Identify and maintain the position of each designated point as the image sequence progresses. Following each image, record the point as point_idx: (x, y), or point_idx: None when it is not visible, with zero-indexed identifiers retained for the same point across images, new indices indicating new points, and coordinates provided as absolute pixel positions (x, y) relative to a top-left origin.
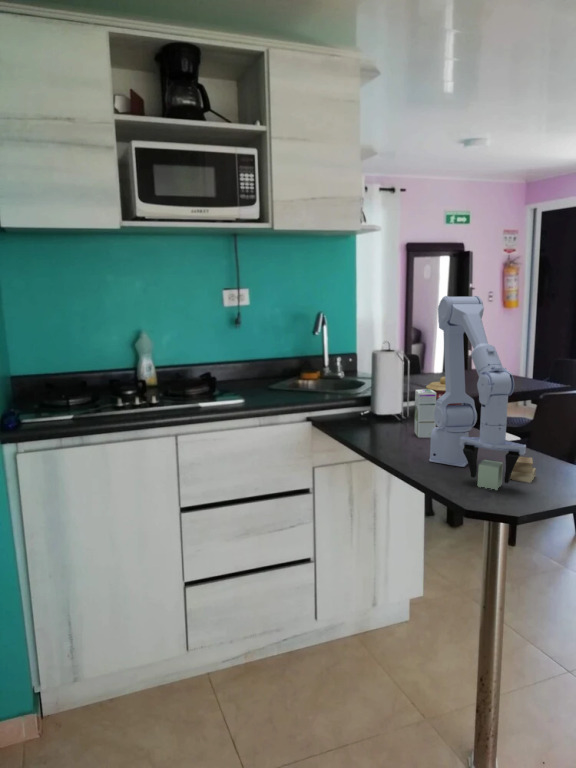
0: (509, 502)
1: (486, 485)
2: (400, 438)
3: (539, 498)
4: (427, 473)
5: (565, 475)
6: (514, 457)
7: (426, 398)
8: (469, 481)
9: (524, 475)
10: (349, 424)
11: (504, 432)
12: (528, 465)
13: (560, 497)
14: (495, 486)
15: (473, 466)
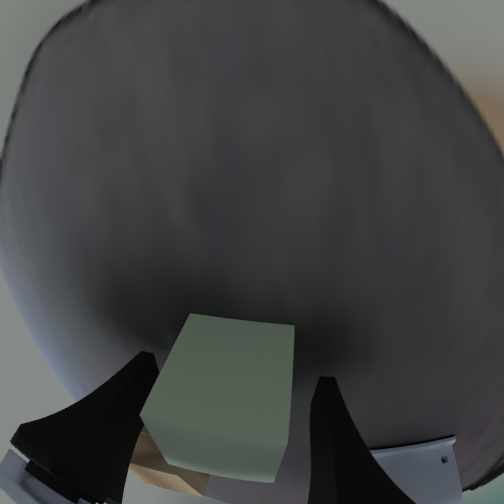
0: (90, 170)
1: (242, 331)
2: (465, 474)
3: (47, 282)
4: (491, 364)
5: None
6: (12, 437)
7: None
8: (340, 370)
9: (144, 425)
10: None
11: None
12: None
13: (29, 312)
14: (193, 327)
15: (327, 431)
